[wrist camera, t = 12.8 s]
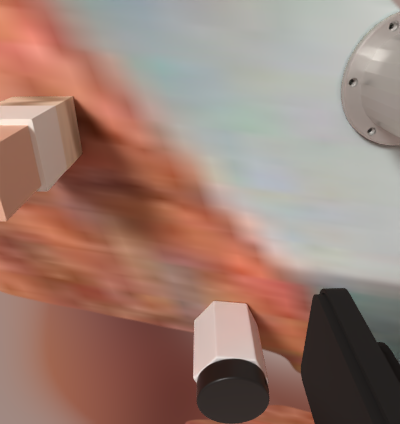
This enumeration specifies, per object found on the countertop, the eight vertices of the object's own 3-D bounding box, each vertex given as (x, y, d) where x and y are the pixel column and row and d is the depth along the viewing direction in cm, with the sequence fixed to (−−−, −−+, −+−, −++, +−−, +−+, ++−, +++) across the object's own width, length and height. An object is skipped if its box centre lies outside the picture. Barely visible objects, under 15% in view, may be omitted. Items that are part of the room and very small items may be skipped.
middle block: (55, 105, 31) (31, 118, 27) (67, 169, 34) (47, 191, 30) (-13, 105, 31) (-48, 119, 27) (4, 169, 34) (-25, 191, 30)
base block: (72, 96, 36) (55, 106, 31) (82, 153, 39) (67, 170, 34) (13, 96, 36) (-13, 106, 31) (27, 154, 39) (5, 170, 34)
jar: (228, 352, 53) (236, 434, 42) (184, 328, 51) (180, 409, 40) (269, 316, 50) (288, 395, 39) (222, 288, 47) (229, 365, 37)
